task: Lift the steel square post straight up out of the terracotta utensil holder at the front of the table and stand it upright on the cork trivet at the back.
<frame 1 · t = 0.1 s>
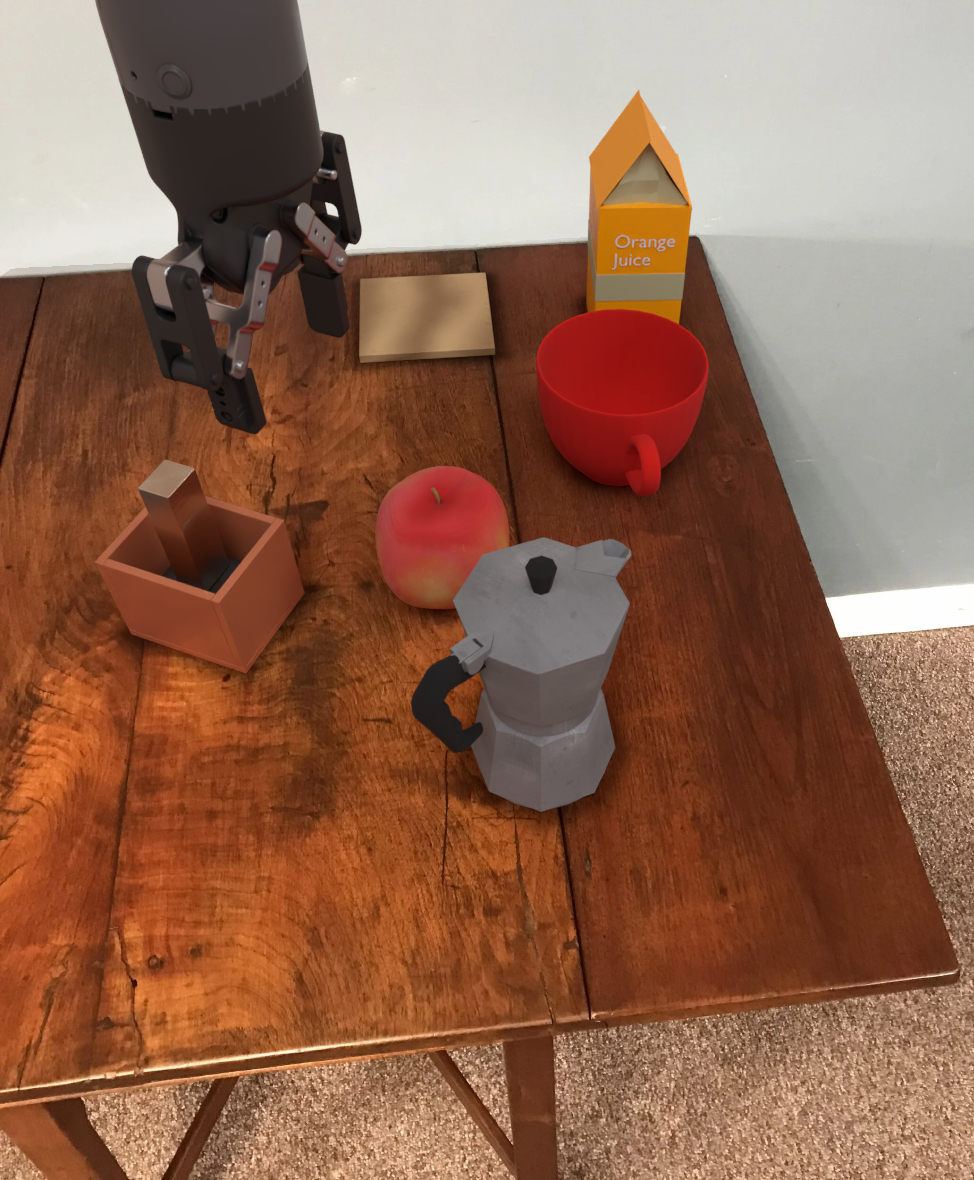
hand: (289, 377, 54), 23 cm above the table, tool pointing down, fingers open, 8 cm apart
ceramic cup: (621, 476, 83), on the table
holder: (219, 613, 72), on the table
apple: (448, 590, 75), on the table
steel square post: (217, 608, 72), point 1 cm above the table, touching holder
trivet: (426, 319, 96), on the table
coffeepot: (531, 760, 66), on the table
orange juice: (629, 330, 96), on the table
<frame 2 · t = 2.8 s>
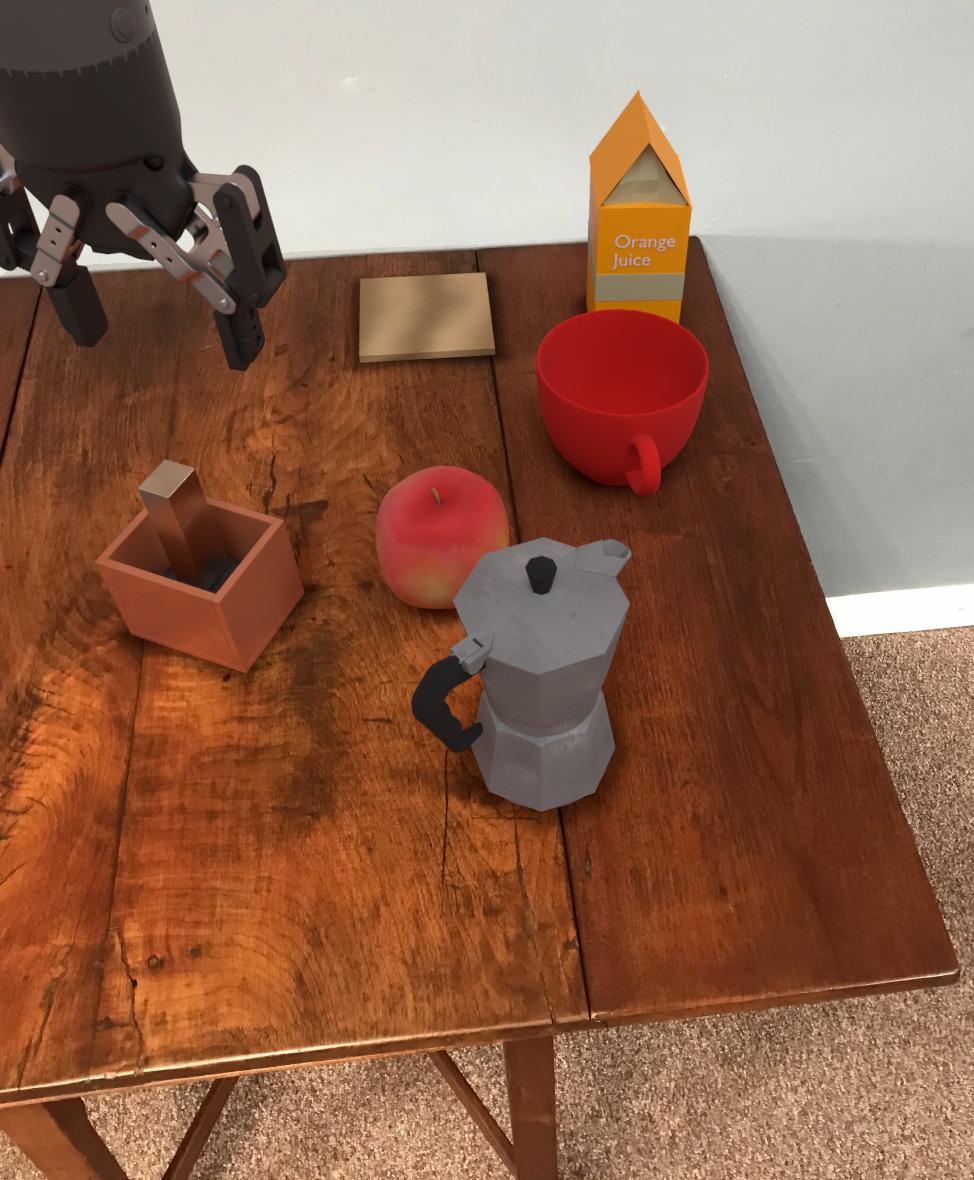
hand: (168, 349, 54), 23 cm above the table, tool pointing down, fingers open, 8 cm apart
nothing on the table moved.
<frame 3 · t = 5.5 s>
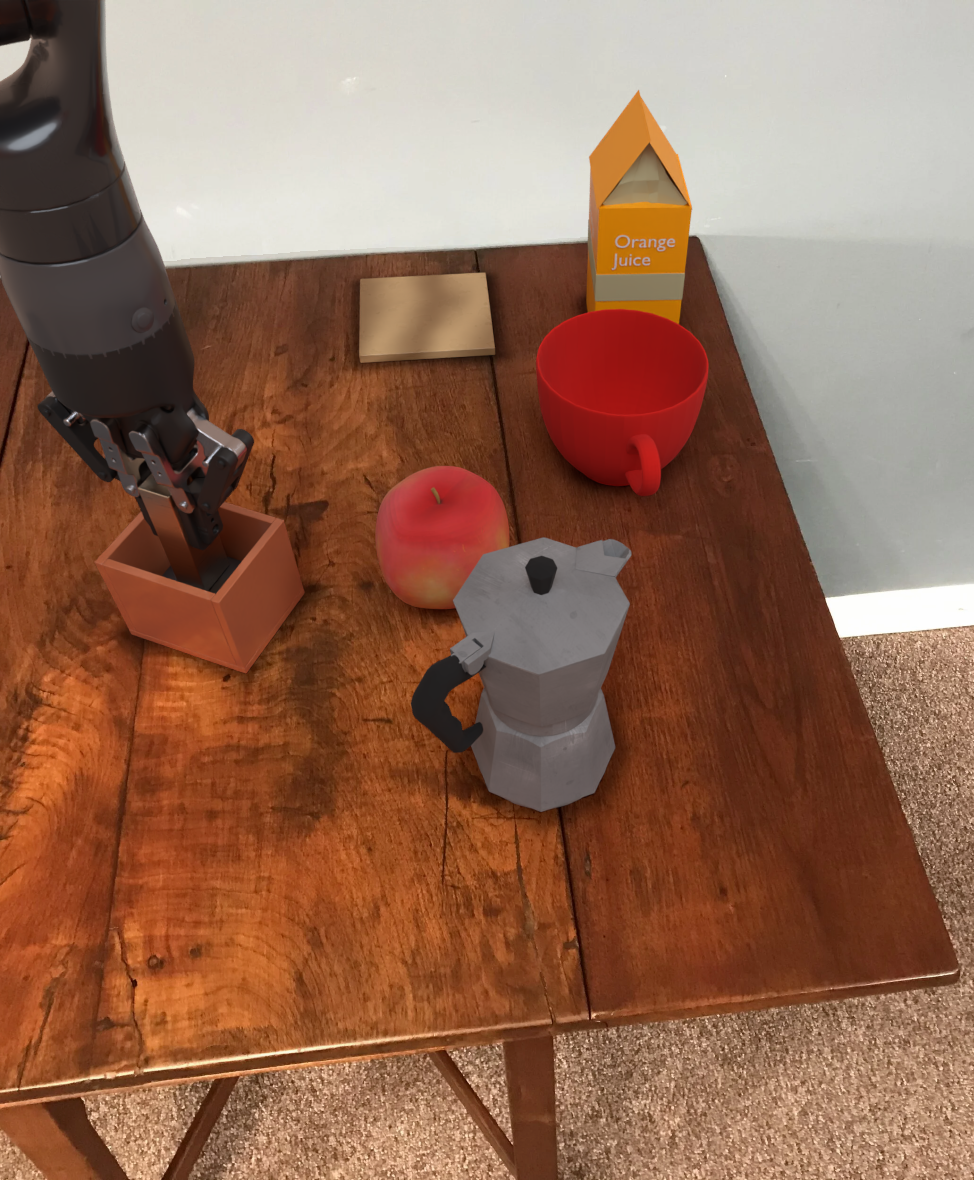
hand: (187, 533, 66), 8 cm above the table, tool pointing down, fingers closed on steel square post, 2 cm apart
steel square post: (217, 607, 72), point 1 cm above the table, touching gripper, holder
everything else where it was.
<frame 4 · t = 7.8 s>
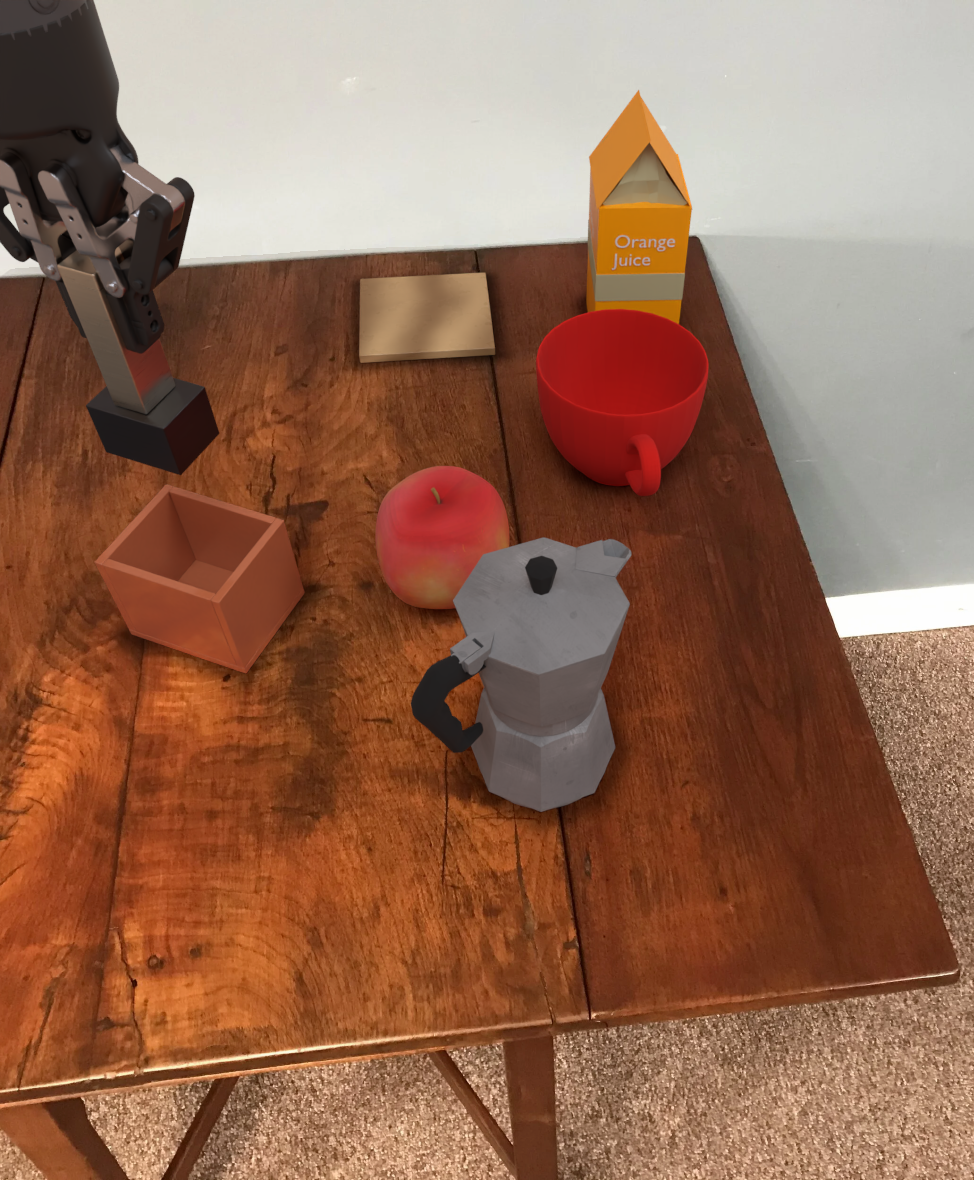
hand: (122, 336, 56), 23 cm above the table, tool pointing down, fingers closed on steel square post
steel square post: (163, 442, 61), point 15 cm above the table, touching gripper
everything else where it was.
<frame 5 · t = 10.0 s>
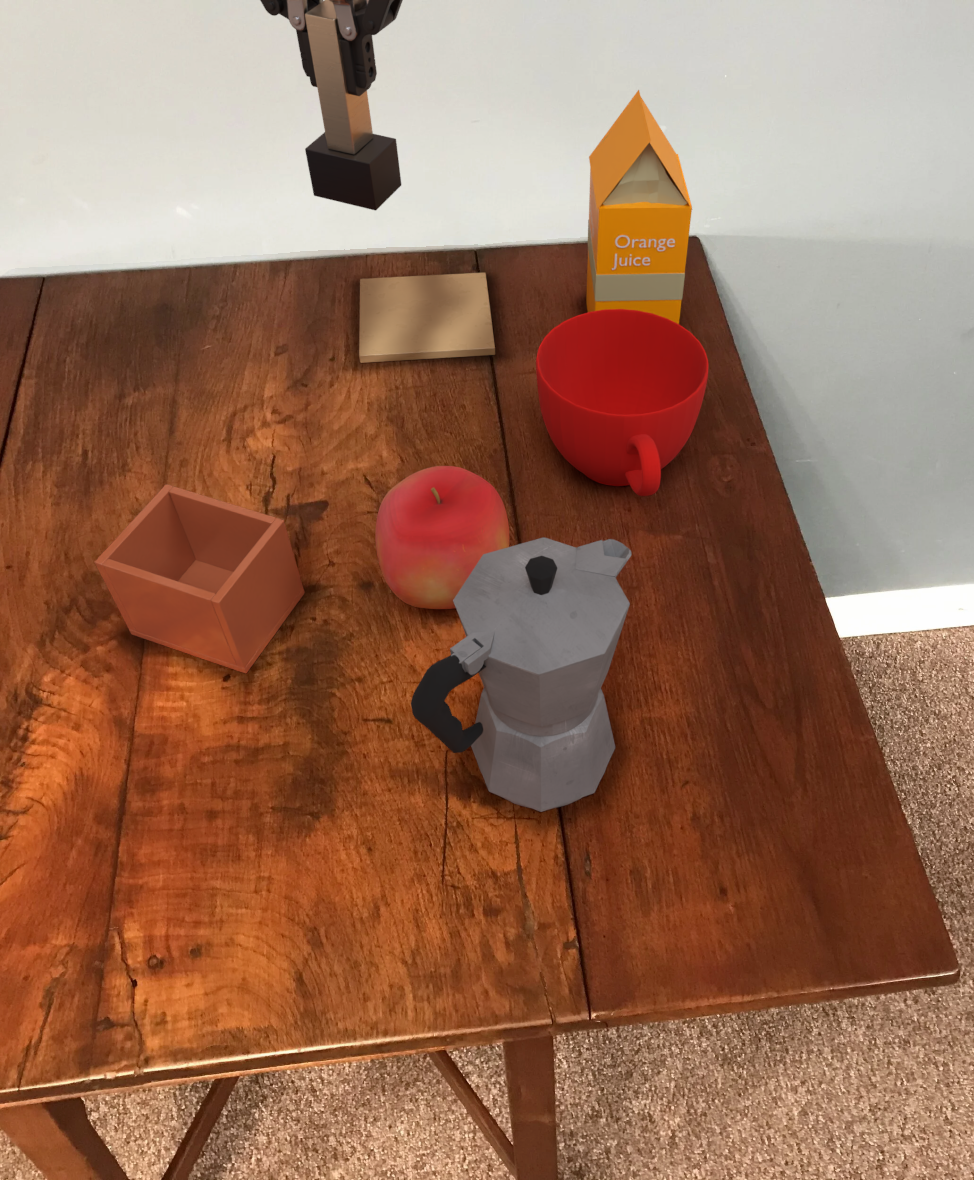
hand: (341, 85, 71), 25 cm above the table, tool pointing down, fingers closed on steel square post
steel square post: (358, 190, 76), point 17 cm above the table, touching gripper
everything else where it was.
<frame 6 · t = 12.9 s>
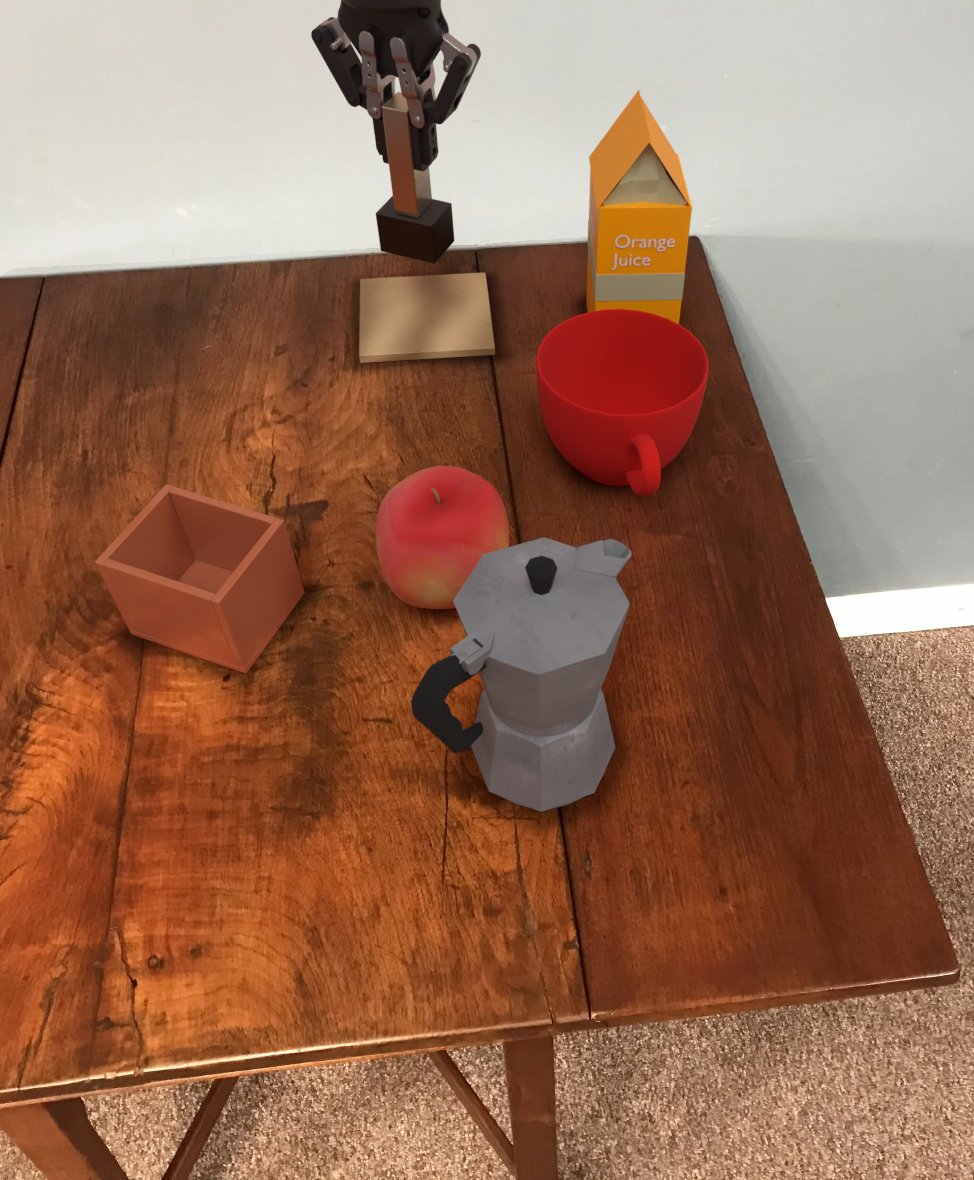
hand: (408, 162, 84), 15 cm above the table, tool pointing down, fingers closed on steel square post
steel square post: (418, 246, 90), point 8 cm above the table, touching gripper
everything else where it was.
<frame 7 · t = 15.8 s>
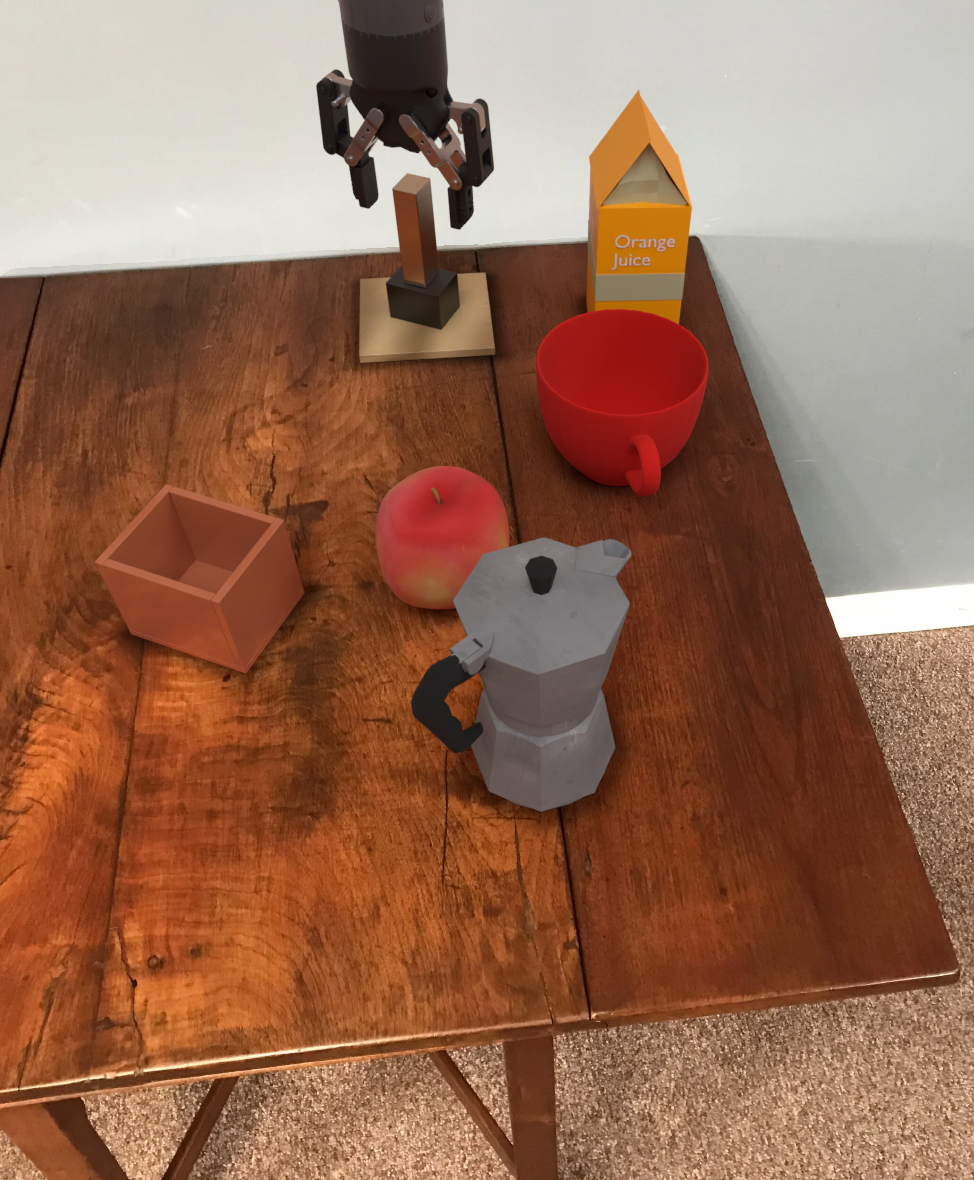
hand: (414, 214, 87), 11 cm above the table, tool pointing down, fingers open, 8 cm apart
steel square post: (425, 311, 95), point 1 cm above the table, touching trivet
everything else where it was.
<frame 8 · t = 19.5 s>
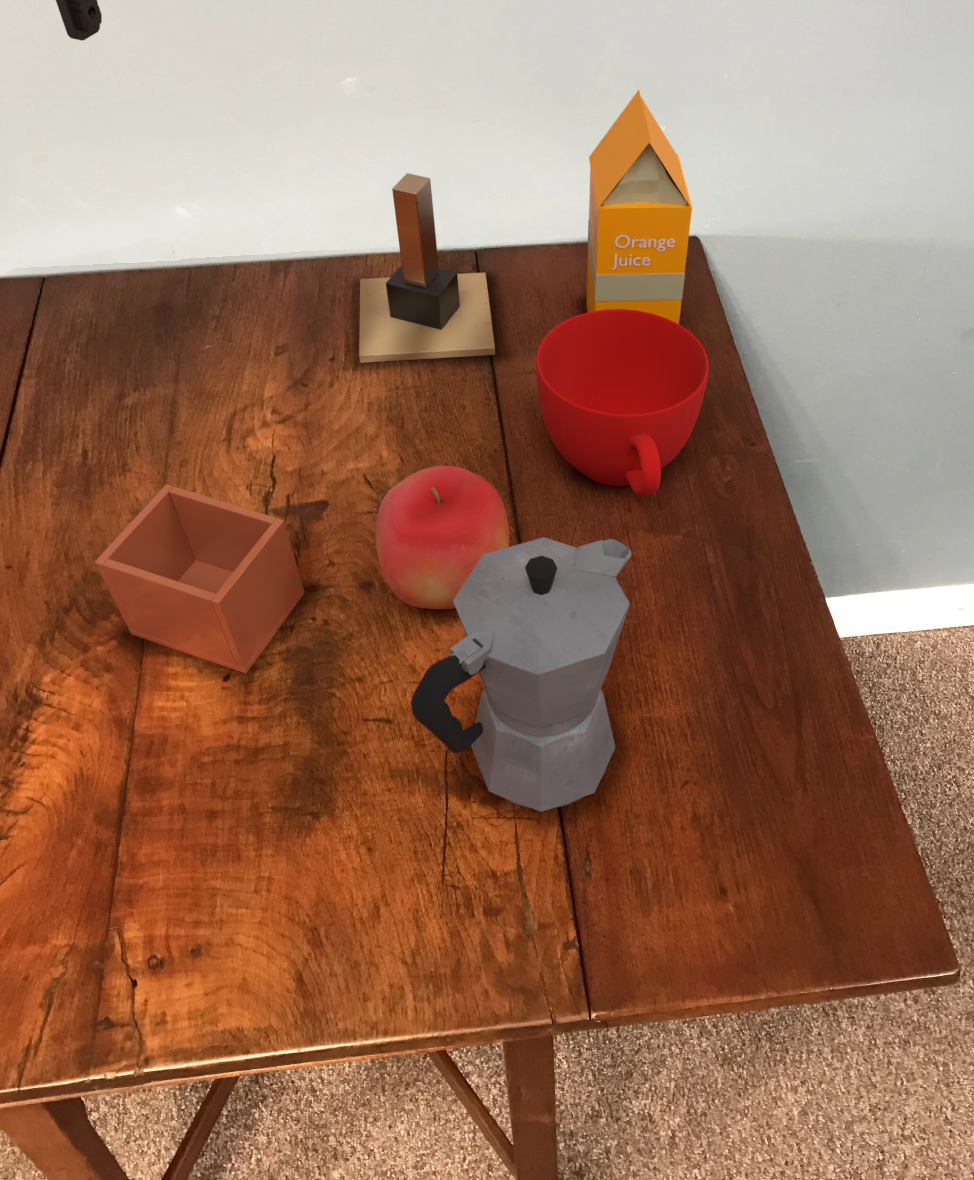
hand: (28, 23, 64), 30 cm above the table, tool pointing down, fingers open, 8 cm apart
nothing on the table moved.
at the end: steel square post inside the target area on the trivet (0.0 cm from its centre), point 0.8 cm above the trivet's base; steel square post tilted 0°; the gripper is holding nothing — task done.
